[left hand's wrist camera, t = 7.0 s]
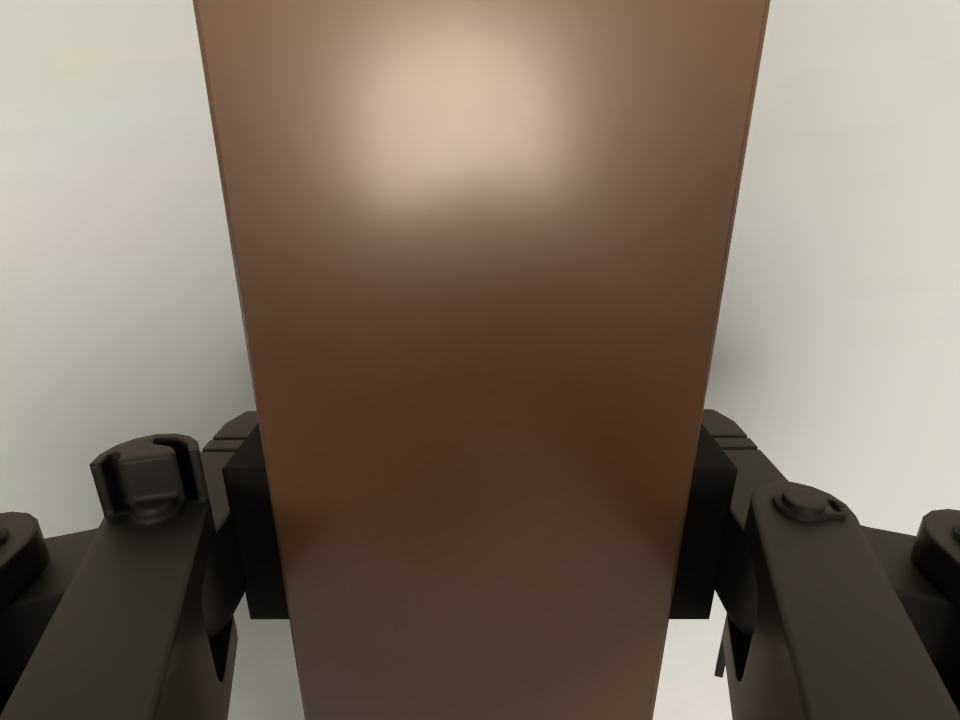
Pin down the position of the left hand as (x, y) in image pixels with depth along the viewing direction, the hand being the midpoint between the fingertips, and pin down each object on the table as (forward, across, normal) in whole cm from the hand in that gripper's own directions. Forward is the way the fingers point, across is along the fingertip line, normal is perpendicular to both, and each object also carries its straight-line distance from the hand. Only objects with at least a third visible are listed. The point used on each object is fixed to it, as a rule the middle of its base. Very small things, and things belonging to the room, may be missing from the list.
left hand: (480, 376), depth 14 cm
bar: (+1, 0, -20) cm, 20 cm away
